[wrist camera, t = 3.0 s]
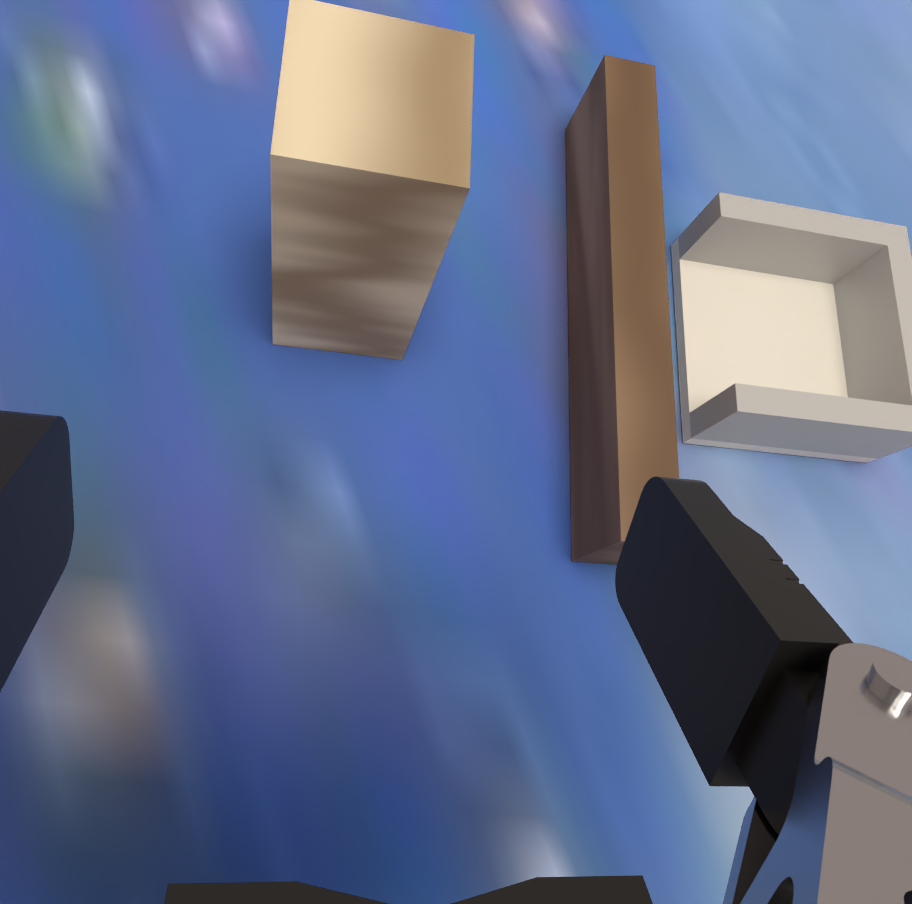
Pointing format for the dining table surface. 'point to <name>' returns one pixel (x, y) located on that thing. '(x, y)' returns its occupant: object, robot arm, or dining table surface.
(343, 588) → the dining table surface
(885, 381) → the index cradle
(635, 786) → the dining table surface
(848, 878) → the robot arm
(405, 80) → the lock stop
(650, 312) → the rail
